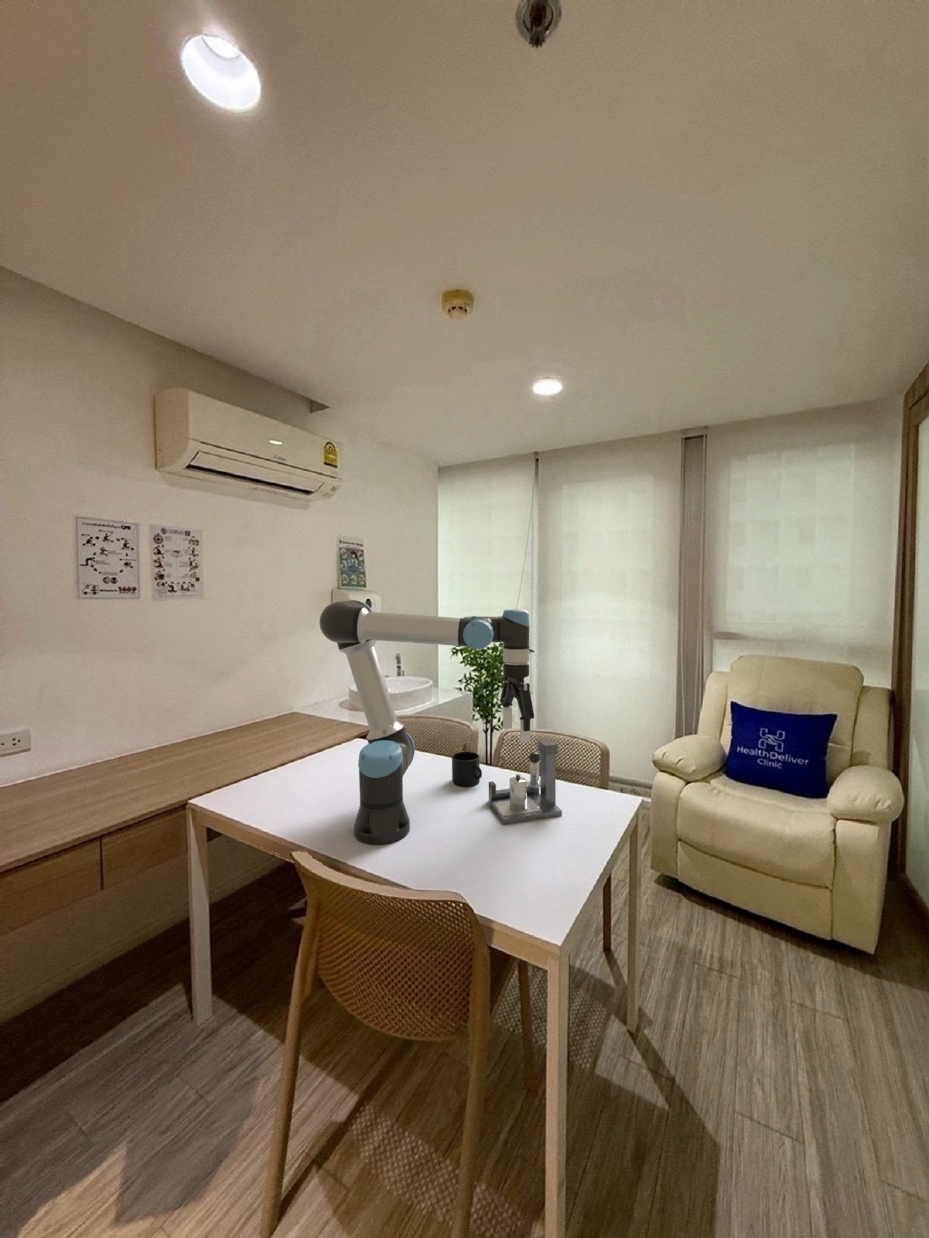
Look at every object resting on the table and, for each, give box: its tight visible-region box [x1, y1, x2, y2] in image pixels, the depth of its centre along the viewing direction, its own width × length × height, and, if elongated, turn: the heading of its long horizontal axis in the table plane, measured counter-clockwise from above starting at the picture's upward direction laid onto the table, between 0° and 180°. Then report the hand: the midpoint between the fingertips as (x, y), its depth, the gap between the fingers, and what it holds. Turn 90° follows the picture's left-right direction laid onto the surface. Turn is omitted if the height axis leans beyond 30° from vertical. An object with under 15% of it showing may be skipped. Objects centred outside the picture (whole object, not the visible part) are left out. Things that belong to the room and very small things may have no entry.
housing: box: [509, 773, 528, 810], centre depth 142 cm, size 5×5×10 cm
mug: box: [451, 751, 483, 788], centre depth 164 cm, size 9×12×9 cm
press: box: [488, 738, 563, 826], centre depth 144 cm, size 18×16×20 cm
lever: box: [527, 751, 541, 789], centre depth 153 cm, size 4×4×11 cm
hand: (515, 734), depth 141 cm, fingers open, 13 cm apart
